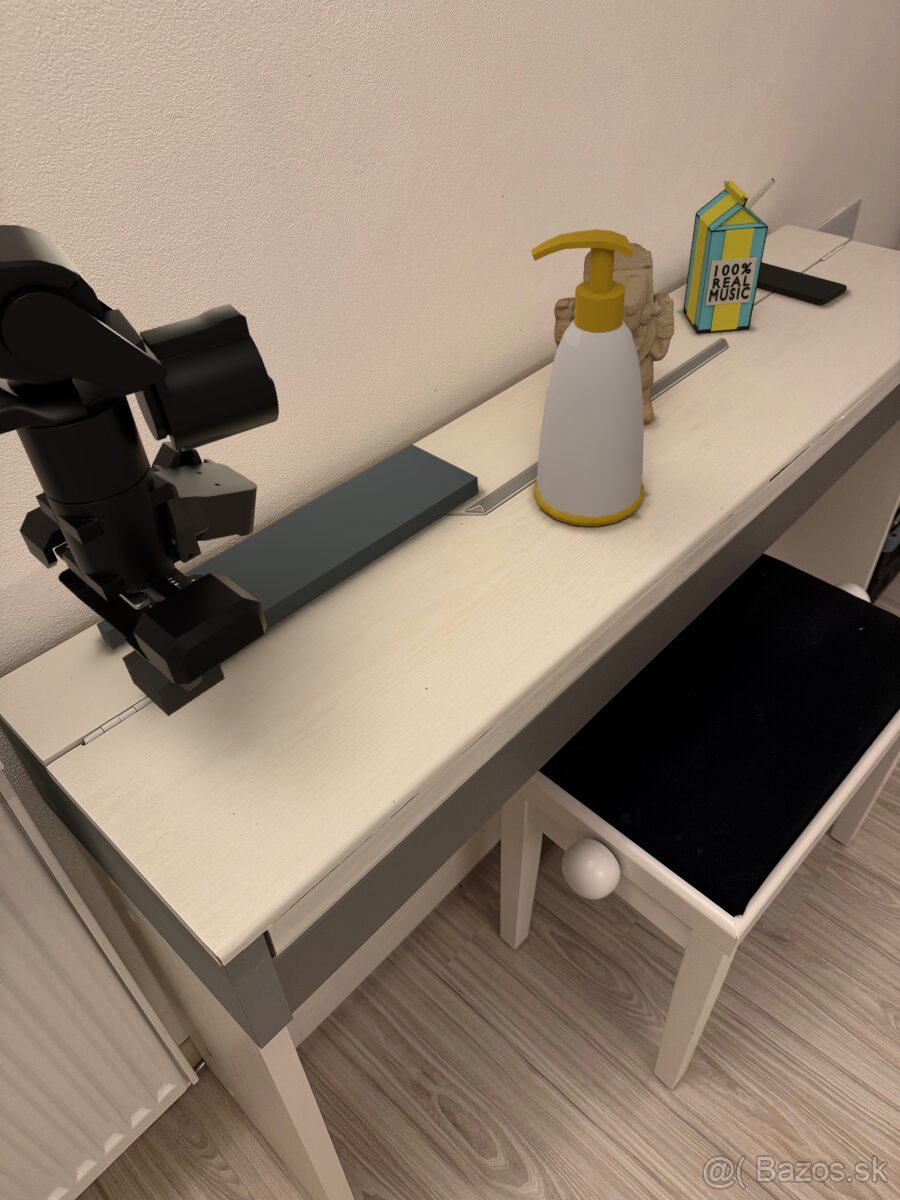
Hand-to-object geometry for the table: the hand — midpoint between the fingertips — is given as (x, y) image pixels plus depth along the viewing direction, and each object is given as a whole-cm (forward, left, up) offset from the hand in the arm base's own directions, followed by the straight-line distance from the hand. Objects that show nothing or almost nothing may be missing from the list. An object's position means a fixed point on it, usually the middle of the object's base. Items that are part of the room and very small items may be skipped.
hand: (173, 668), depth 58 cm
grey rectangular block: (-6, +24, -11) cm, 27 cm away
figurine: (+14, +58, -11) cm, 61 cm away
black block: (0, 0, -1) cm, 1 cm away
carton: (+21, +88, -11) cm, 91 cm away
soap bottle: (+16, +43, -11) cm, 47 cm away
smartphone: (+28, +102, -11) cm, 106 cm away
